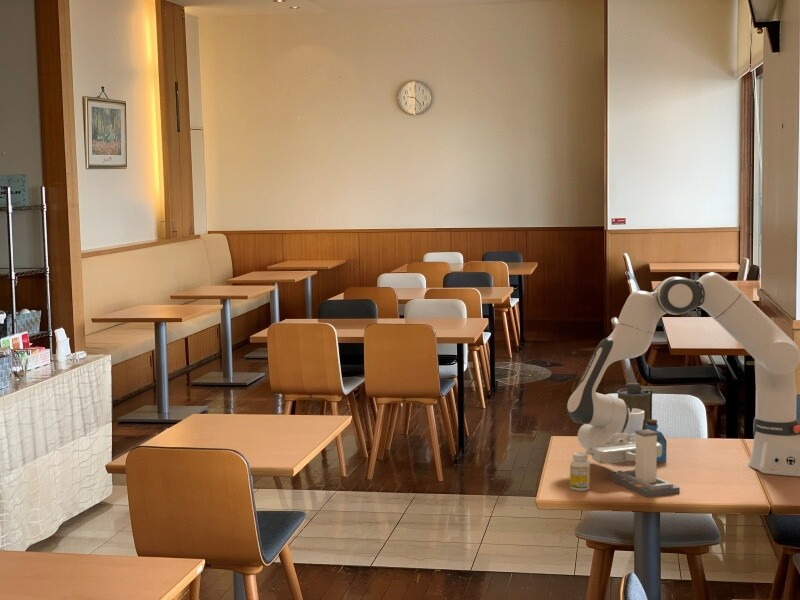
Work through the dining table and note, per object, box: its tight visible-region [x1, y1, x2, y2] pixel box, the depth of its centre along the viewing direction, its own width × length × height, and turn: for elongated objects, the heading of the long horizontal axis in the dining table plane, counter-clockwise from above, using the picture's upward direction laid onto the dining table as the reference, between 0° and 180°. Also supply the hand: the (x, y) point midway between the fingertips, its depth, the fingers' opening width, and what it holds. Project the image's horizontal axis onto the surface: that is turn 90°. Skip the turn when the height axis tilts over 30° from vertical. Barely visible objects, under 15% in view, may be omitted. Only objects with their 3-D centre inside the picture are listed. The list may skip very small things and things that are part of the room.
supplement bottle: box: [569, 451, 591, 492], centre depth 282 cm, size 5×5×10 cm
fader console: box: [610, 469, 681, 498], centre depth 283 cm, size 18×10×2 cm, turn 20°
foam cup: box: [623, 408, 644, 434], centre depth 319 cm, size 10×9×13 cm
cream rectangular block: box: [634, 429, 657, 483], centre depth 282 cm, size 4×4×14 cm
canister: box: [616, 382, 653, 430], centre depth 327 cm, size 11×10×20 cm
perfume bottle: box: [646, 418, 668, 463], centre depth 310 cm, size 6×6×12 cm
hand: (642, 458), depth 284 cm, fingers closed, pressing on cream rectangular block
